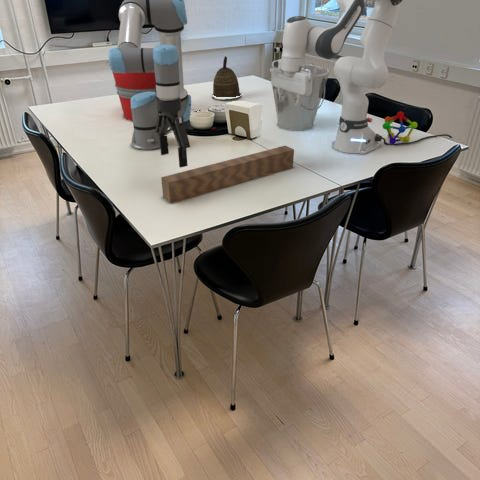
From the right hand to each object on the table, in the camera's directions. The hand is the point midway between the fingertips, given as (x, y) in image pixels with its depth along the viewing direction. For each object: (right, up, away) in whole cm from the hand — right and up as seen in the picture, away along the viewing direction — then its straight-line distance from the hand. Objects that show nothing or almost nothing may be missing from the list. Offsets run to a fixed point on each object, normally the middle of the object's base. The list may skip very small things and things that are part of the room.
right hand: (289, 102), depth 172 cm
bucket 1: (-72, +16, +76) cm, 105 cm away
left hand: (-42, -26, -19) cm, 53 cm away
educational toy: (+55, -7, +39) cm, 68 cm away
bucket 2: (+10, +7, +61) cm, 63 cm away
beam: (-22, -31, +1) cm, 38 cm away
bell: (-28, +37, +109) cm, 119 cm away
